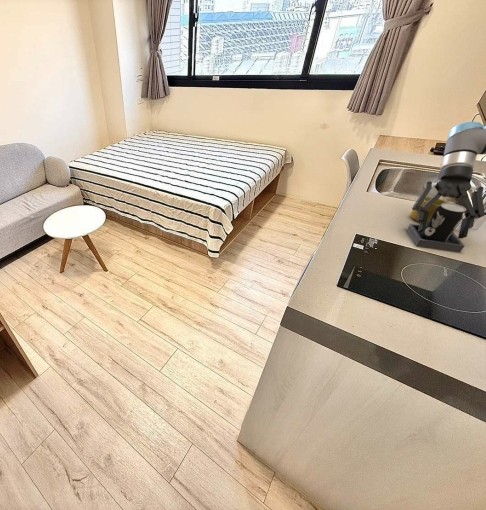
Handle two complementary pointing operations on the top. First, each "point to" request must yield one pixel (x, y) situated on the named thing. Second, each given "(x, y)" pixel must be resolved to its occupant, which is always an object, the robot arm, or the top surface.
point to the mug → (430, 209)
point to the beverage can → (443, 222)
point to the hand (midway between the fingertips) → (441, 234)
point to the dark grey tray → (449, 245)
